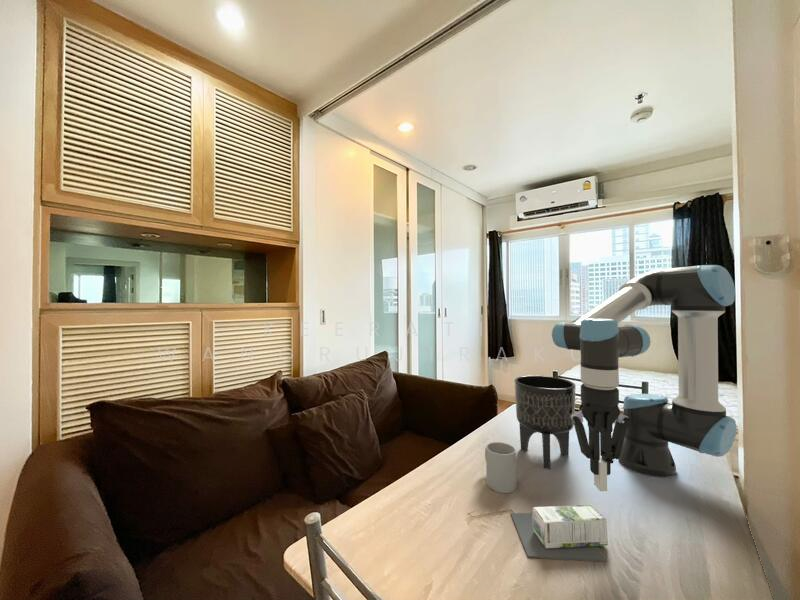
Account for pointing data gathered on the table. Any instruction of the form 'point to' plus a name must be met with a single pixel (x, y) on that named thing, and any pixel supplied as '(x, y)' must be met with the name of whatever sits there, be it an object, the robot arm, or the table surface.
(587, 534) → the syrup box
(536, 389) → the planter
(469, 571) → the table surface
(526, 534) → the mat
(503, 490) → the mug
